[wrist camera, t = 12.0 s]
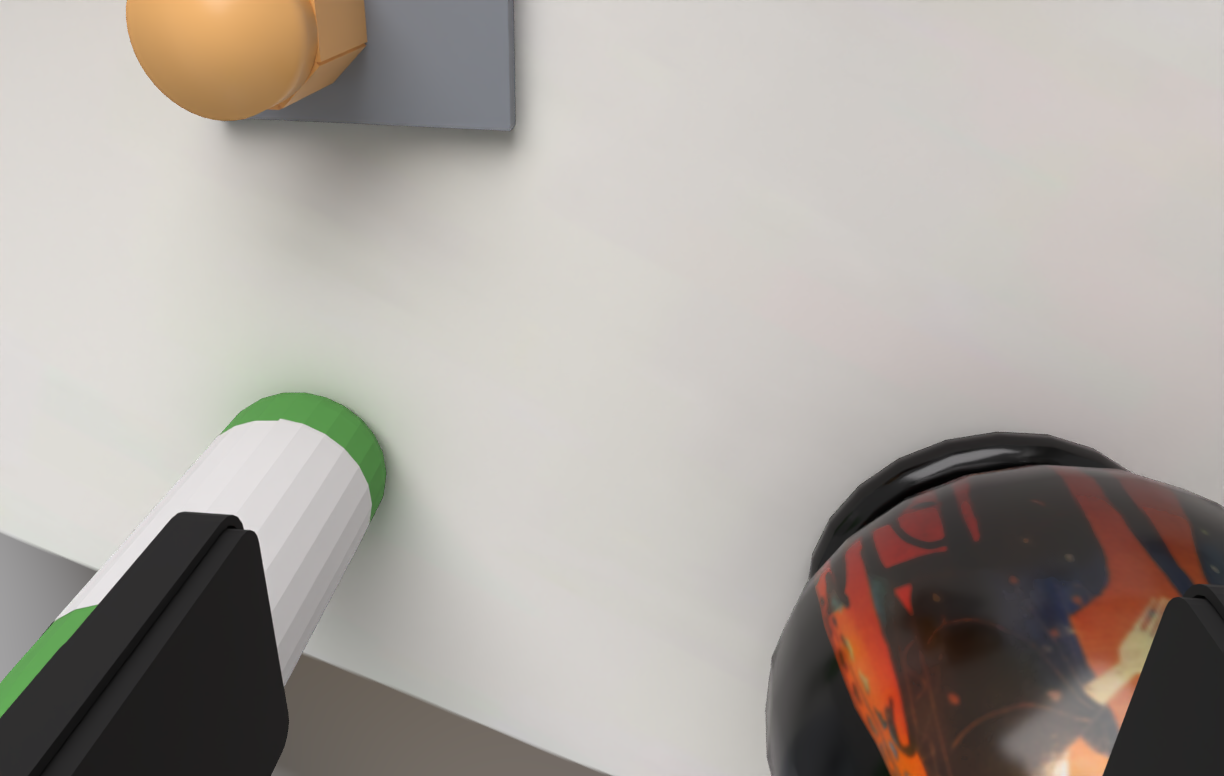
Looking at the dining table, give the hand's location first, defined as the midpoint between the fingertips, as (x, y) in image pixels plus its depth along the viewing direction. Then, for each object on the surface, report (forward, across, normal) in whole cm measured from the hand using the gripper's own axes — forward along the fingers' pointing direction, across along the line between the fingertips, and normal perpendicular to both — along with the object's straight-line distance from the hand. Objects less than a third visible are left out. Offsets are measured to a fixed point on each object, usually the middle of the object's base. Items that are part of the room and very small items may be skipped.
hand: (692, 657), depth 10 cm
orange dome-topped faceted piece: (+29, +15, -3) cm, 33 cm away
